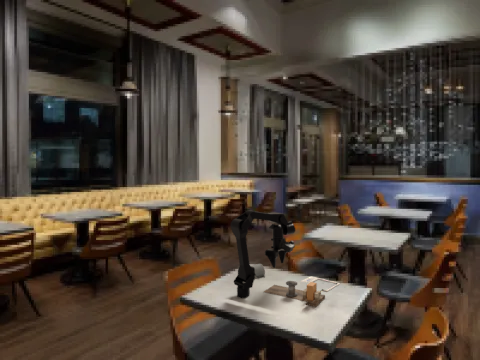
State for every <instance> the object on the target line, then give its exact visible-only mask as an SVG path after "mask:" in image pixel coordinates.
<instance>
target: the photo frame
mask: <svg viewBox="0 0 480 360" xmlns="http://www.w3.org/2000/svg"><path fill="white" fill-rule="evenodd" d="M318 280H319V281H324V282H328V283H333V284H335V285H333V286H331V287H329V288H328V289H323V288H322V289H321V292H322V291H323V292H326V293H327V292H330V291H331V290H332V289H334V288H336V287H337V286H339V285H340V284H341V282H336V281H333V280H327V279H324V278H319V277H315V276H309V277H306V278H304V279H302V280H300V282H302V283H306V284H309V283H310V282H314V283H315V282H316V281H318ZM336 283H337V284H336Z"/></svg>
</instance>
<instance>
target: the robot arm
mask: <svg viewBox="0 0 480 360" xmlns="http://www.w3.org/2000/svg"><path fill="white" fill-rule="evenodd" d="M253 220H261V221H262V220H263V221H267V222H270V223H271V225H269V227H268V229H271V231H272V237H271V238H270V240H271V241H272V245H271V246H270V248H268V249H266V250H264V255H265V256H266V257H267V259H268V260H269V262H270V264H271V266H272V268H273V269H274V268H276V266H277V259H278V257H279V260H280V263H281V264H284V262H285V258H286V255H287V253H291V252H293V250H294V248H295V242H294V241H293V240H290V241H286V238H285V237H284V236H288V235H293V234H295V232H296V227H295V226H296V225H295V224H293V221H290V220H289V221H288V219H287V218H286V216H285V214H284V213H281V212H259V211H255V210H251V209H248V210H246V211H245V212H244V213H242V214H240V215H238V216H237V217H236V218H234V219H232V220H231V222H230V230H231V232H232V234H233V236H234V237H235V242H236V247H237V248H236V249H237V255H238V263H239V267H238V270H237V275H236V277H235V278H234V279H233V283H234V285H235V286H236V292H237V293H236V296H237V298H240V299H245V298H248V297H250V293H251V292H250V291H251V290H250V289H252V288H253V285H254V282H255V279H256V278H255V275H256V274H255V268H254V267H252V266H253V265H251V264H250V258H249V251H248V243H247V242H248V241H247V235H248V232H249V229H248V228H249V227H250V226H251V225H252V223H253V222H254V221H253Z"/></svg>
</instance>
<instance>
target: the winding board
mask: <svg viewBox="0 0 480 360" xmlns="http://www.w3.org/2000/svg"><path fill="white" fill-rule="evenodd" d="M285 285H286V286H282V285H277V284H273V285H271V286H270V287H268V288H267V289H266V290H264V291H263V293H266V294H271V295H274V296H280V297H284V298H288V299H293V300H296V301H297V300H298V301H301V302H306V303H305V305H306V306H310V307H315V308H317V306H319V304H320V303H321V302H323V300H325V299H326V295H325V294H322V290H317V292H316V293H315V299H314V300H313V301H312V300H307V287H306V288H304V289H303V290H301V289H297V288H296V286H298V282H297V281H295V280H287V281H286V282H285Z"/></svg>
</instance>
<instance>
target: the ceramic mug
mask: <svg viewBox="0 0 480 360" xmlns="http://www.w3.org/2000/svg"><path fill="white" fill-rule="evenodd" d="M251 266H252V267H254V268H255V274H256V275H255V279H257V280H259V278H260V277H263V279H265V278H266V271H265V268H264V266H263V264H262V263H257V264H254V265H251Z"/></svg>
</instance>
